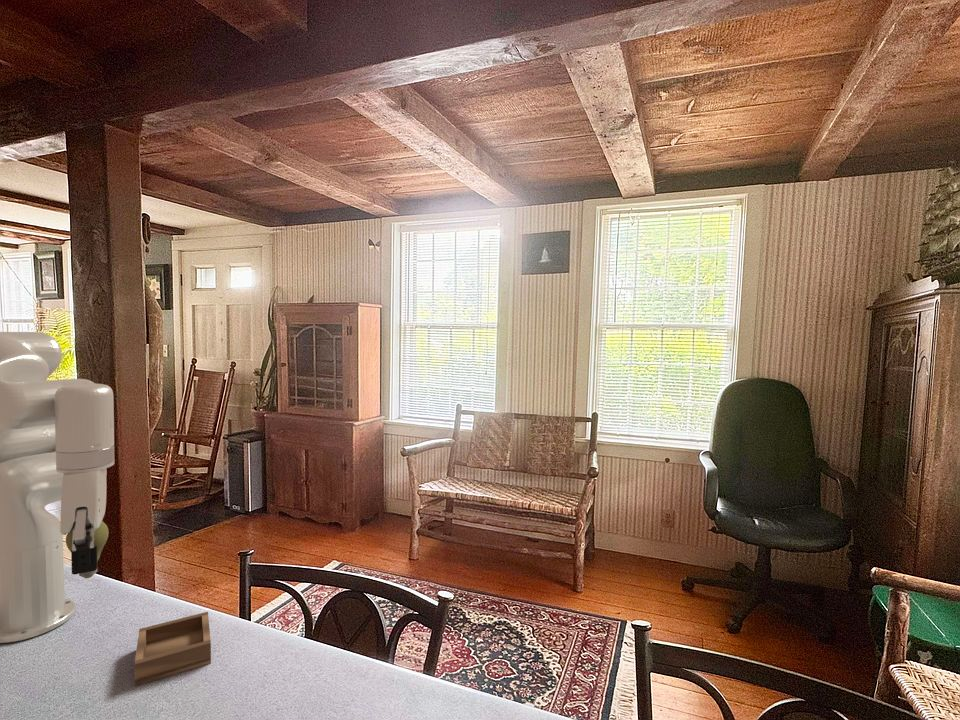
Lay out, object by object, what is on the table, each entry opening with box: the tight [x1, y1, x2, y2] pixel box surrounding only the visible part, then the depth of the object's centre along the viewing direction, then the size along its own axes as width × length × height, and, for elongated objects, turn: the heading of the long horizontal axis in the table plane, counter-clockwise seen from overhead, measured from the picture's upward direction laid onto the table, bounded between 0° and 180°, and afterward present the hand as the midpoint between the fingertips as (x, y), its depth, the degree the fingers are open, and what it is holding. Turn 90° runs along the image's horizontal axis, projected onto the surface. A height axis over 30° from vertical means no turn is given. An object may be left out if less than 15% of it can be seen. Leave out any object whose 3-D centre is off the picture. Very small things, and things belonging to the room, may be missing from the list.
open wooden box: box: [133, 611, 212, 687], centre depth 82 cm, size 10×10×4 cm
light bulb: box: [65, 521, 109, 579], centre depth 81 cm, size 6×6×10 cm
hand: (87, 562), depth 81 cm, fingers closed on light bulb, 5 cm apart
